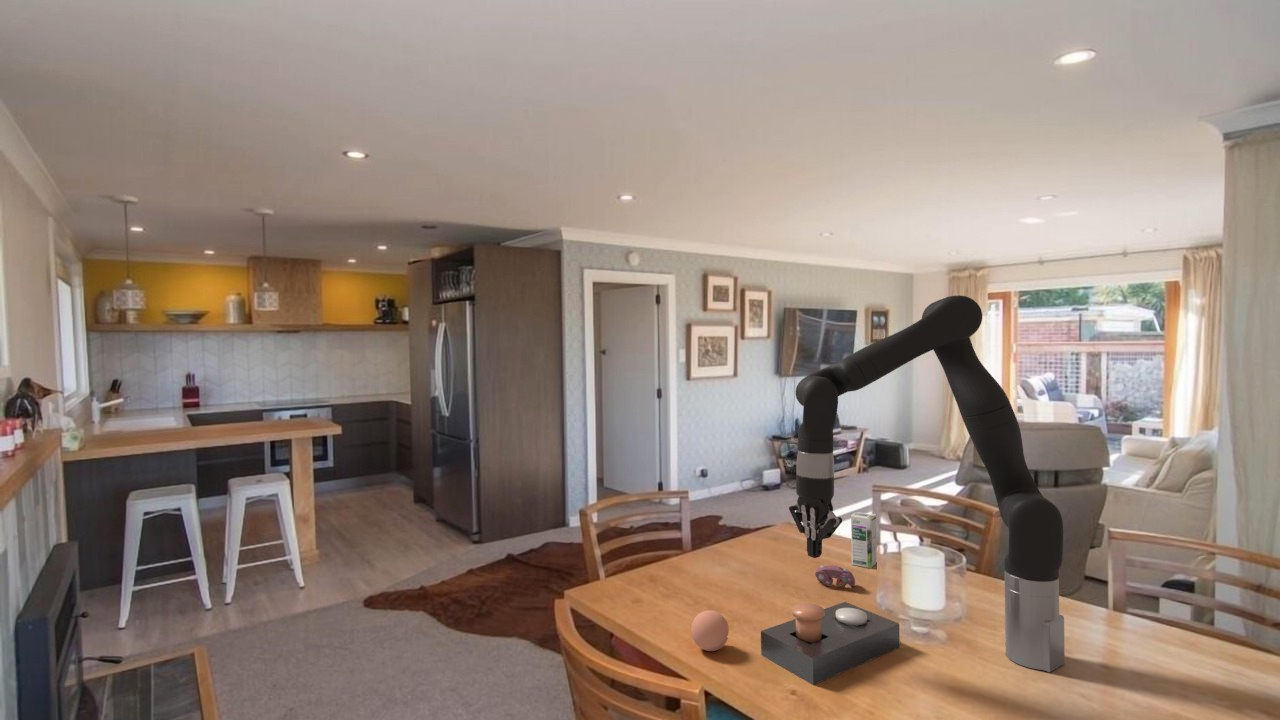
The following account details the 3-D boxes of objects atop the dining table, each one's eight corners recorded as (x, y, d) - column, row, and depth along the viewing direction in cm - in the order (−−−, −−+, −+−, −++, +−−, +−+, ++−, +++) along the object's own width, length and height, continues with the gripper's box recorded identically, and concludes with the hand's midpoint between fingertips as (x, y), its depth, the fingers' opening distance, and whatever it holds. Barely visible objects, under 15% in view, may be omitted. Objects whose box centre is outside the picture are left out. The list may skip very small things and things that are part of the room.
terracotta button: (832, 638, 126) (831, 611, 126) (809, 647, 122) (809, 618, 122) (807, 627, 131) (807, 600, 131) (785, 635, 128) (785, 607, 128)
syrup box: (851, 565, 181) (850, 515, 181) (857, 559, 186) (856, 510, 186) (871, 569, 178) (870, 518, 178) (877, 563, 183) (876, 513, 182)
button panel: (899, 647, 131) (899, 623, 131) (813, 684, 118) (812, 658, 117) (845, 623, 143) (845, 601, 143) (761, 655, 129) (760, 631, 129)
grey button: (874, 641, 133) (873, 615, 133) (854, 649, 129) (853, 623, 129) (849, 630, 138) (849, 605, 138) (829, 638, 135) (829, 612, 135)
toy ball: (735, 646, 133) (734, 609, 133) (719, 661, 127) (718, 623, 127) (702, 637, 138) (701, 601, 138) (684, 652, 131) (684, 614, 131)
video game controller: (815, 589, 167) (812, 570, 165) (818, 577, 171) (815, 557, 168) (854, 595, 163) (851, 576, 160) (856, 582, 166) (854, 563, 164)
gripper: (853, 477, 125) (852, 563, 125) (804, 465, 136) (803, 544, 137) (826, 481, 121) (825, 569, 122) (779, 469, 133) (778, 550, 133)
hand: (814, 556), depth 129 cm, fingers closed
